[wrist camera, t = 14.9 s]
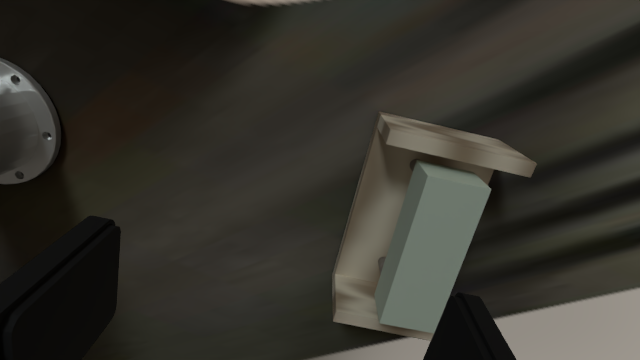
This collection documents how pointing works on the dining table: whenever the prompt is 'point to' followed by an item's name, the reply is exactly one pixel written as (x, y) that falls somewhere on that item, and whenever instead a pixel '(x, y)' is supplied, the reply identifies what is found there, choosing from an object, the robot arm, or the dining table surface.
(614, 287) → the dining table surface
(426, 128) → the shelf frame
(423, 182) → the grey-green rectangular block
